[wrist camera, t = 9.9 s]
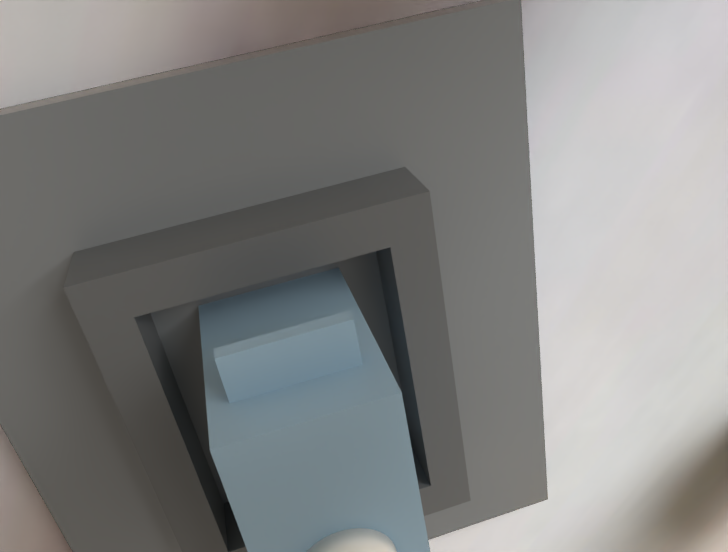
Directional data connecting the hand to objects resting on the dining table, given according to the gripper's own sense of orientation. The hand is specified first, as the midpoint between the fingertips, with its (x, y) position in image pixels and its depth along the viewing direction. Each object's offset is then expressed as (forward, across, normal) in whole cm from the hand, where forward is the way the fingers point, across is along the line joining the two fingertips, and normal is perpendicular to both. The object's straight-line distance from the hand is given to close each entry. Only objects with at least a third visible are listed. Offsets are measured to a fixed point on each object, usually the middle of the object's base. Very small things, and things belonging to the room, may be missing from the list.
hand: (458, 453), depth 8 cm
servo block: (+11, +2, +6) cm, 13 cm away
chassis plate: (+12, +2, +6) cm, 13 cm away
